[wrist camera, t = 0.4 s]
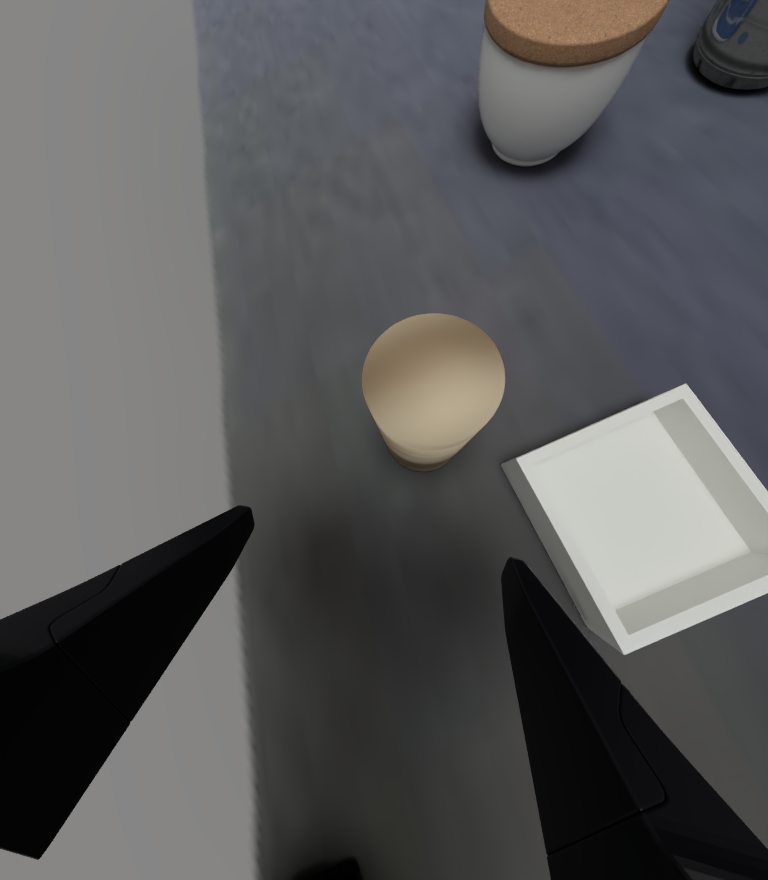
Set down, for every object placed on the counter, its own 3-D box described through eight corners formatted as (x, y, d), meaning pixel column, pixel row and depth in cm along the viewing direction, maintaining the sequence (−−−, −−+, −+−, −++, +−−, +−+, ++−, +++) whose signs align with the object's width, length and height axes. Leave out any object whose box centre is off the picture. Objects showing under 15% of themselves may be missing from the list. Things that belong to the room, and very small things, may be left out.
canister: (471, 454, 23) (532, 408, 11) (404, 483, 23) (395, 469, 11) (438, 391, 24) (463, 292, 12) (375, 419, 24) (342, 347, 13)
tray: (752, 555, 19) (825, 568, 16) (587, 627, 20) (624, 655, 16) (644, 400, 22) (686, 383, 19) (500, 464, 22) (515, 458, 19)
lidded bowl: (483, 88, 31) (521, -132, 20) (604, 101, 29) (719, -136, 18) (449, 177, 29) (472, -14, 18) (578, 198, 27) (690, -4, 16)
